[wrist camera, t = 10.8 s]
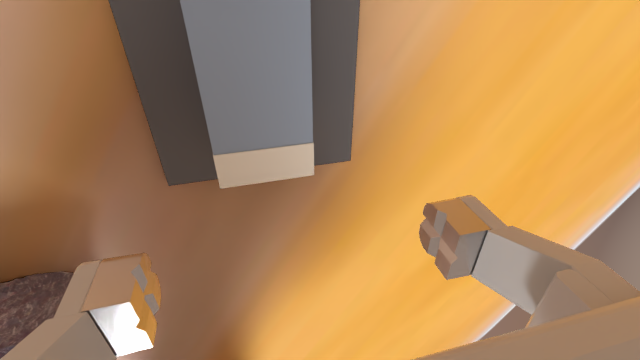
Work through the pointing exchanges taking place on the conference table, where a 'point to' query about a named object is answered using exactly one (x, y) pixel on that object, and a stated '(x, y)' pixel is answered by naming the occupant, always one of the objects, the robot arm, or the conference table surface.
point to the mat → (184, 96)
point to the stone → (28, 305)
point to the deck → (254, 86)
